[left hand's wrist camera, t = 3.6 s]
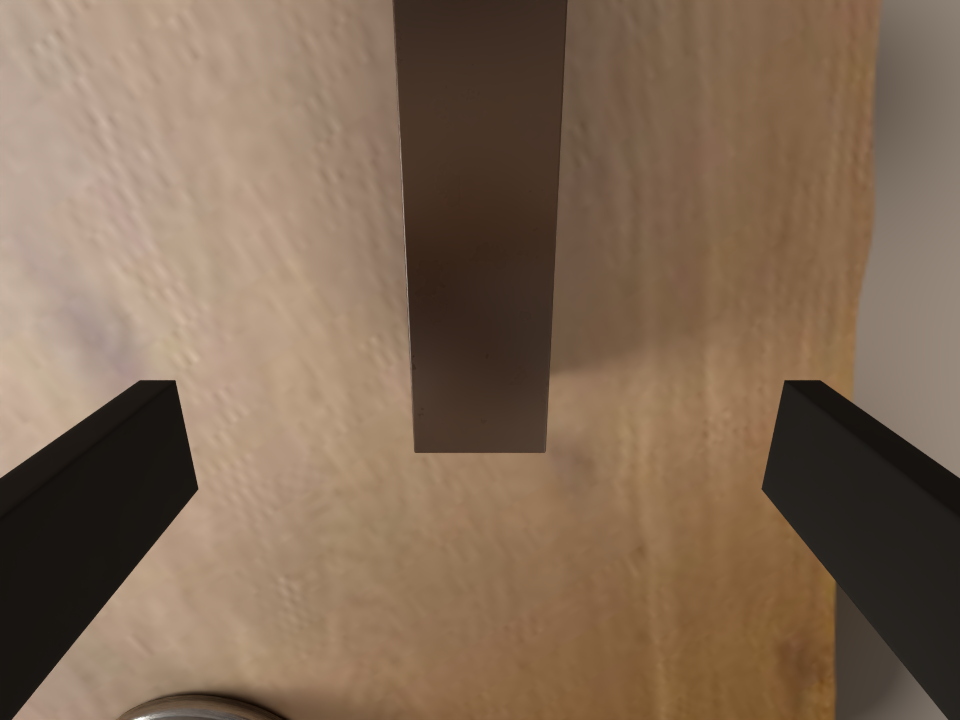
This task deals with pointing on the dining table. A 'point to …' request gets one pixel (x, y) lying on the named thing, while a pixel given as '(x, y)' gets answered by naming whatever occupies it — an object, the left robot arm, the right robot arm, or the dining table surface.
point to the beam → (480, 215)
